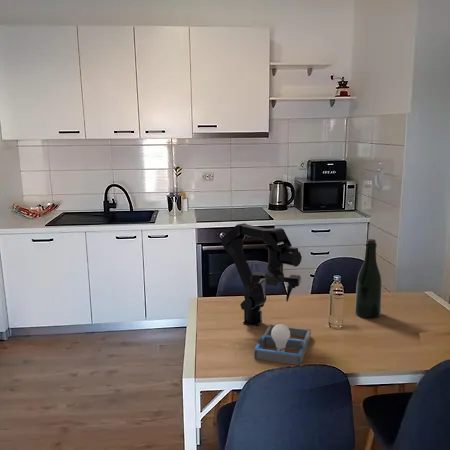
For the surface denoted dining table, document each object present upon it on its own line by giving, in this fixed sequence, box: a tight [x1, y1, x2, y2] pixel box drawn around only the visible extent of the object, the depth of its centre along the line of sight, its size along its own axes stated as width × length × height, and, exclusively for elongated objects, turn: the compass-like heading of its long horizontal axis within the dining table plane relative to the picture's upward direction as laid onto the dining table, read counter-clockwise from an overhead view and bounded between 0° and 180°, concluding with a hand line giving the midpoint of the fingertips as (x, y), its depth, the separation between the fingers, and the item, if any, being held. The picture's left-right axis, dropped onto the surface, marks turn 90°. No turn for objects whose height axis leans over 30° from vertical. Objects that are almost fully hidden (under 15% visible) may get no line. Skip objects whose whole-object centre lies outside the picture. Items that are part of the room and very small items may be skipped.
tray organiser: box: [253, 324, 312, 366], centre depth 166 cm, size 16×23×5 cm
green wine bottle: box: [354, 238, 383, 320], centre depth 191 cm, size 10×10×33 cm
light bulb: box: [270, 323, 291, 352], centre depth 160 cm, size 7×7×11 cm
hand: (275, 300), depth 177 cm, fingers open, 9 cm apart
